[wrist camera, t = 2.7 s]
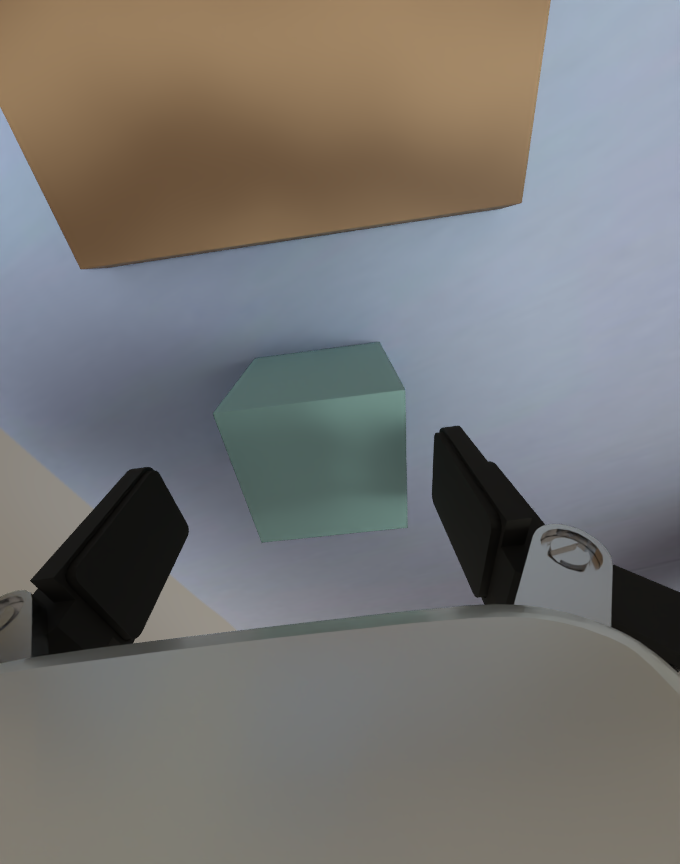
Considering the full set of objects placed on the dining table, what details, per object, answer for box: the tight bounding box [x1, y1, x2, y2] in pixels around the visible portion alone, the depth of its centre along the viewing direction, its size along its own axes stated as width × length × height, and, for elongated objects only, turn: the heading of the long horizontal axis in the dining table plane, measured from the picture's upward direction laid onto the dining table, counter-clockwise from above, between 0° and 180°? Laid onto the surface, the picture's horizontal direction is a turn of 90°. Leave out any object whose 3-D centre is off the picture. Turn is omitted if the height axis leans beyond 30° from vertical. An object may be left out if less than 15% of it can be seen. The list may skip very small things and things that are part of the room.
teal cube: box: [213, 342, 408, 543], centre depth 13 cm, size 6×6×6 cm
